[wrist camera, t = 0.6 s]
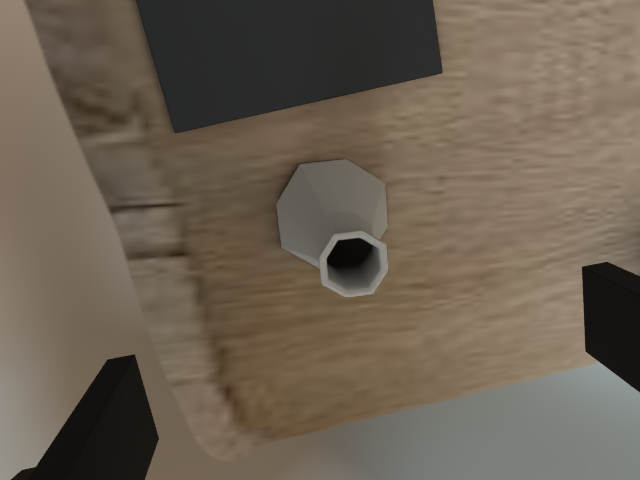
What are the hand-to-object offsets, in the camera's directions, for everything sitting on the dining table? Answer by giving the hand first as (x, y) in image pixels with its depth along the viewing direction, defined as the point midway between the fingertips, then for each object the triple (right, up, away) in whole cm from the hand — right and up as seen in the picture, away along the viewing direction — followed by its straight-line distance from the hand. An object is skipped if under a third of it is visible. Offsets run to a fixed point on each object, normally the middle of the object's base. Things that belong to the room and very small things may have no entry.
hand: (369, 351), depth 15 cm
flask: (-1, +5, +18) cm, 19 cm away
